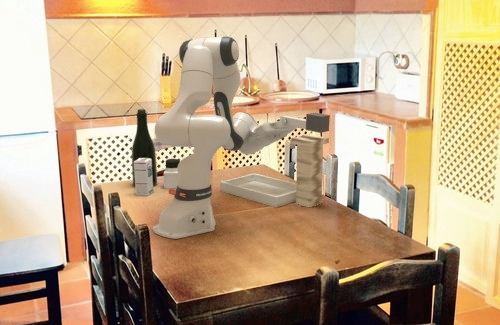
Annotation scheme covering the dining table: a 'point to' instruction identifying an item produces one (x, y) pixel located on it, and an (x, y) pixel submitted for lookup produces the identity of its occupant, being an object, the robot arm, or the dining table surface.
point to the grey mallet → (310, 122)
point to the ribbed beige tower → (309, 169)
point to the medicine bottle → (171, 173)
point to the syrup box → (143, 176)
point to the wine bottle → (143, 144)
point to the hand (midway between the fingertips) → (289, 119)
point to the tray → (261, 189)
